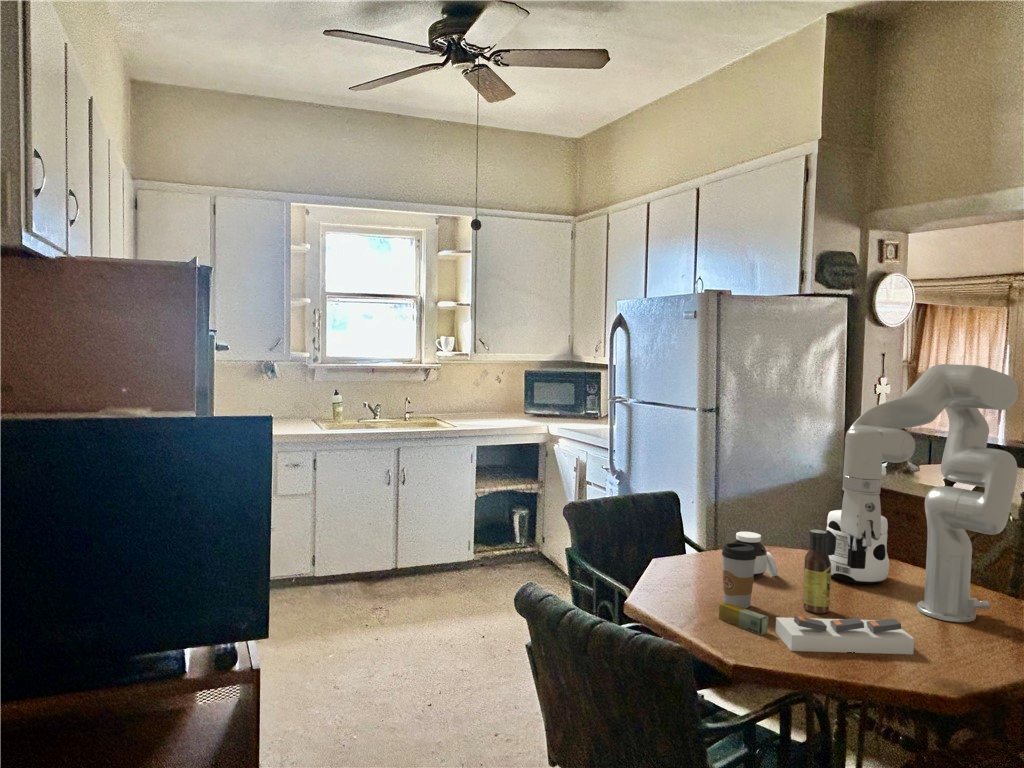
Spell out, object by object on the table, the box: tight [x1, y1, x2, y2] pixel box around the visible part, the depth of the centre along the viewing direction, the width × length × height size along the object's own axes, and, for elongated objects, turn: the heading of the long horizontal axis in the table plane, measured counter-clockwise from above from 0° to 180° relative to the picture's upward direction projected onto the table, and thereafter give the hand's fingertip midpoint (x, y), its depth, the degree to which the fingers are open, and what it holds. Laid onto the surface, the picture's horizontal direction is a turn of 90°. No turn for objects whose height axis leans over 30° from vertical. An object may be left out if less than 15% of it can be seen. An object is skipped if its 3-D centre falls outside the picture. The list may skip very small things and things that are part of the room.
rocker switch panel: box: [775, 617, 915, 655], centre depth 161 cm, size 26×10×4 cm, turn 89°
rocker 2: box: [867, 617, 903, 633], centre depth 158 cm, size 6×3×1 cm, turn 88°
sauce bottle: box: [802, 529, 832, 614], centre depth 180 cm, size 6×6×20 cm
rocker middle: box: [830, 617, 864, 632], centre depth 158 cm, size 6×3×1 cm, turn 88°
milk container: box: [826, 509, 890, 585], centre depth 206 cm, size 17×17×18 cm
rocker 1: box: [793, 615, 827, 631], centre depth 159 cm, size 6×3×1 cm, turn 89°
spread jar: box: [732, 531, 779, 579], centre depth 207 cm, size 12×11×12 cm
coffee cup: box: [721, 542, 756, 609], centre depth 183 cm, size 8×8×15 cm
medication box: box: [718, 602, 769, 636], centre depth 170 cm, size 12×3×4 cm, turn 37°
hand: (856, 567), depth 159 cm, fingers closed
